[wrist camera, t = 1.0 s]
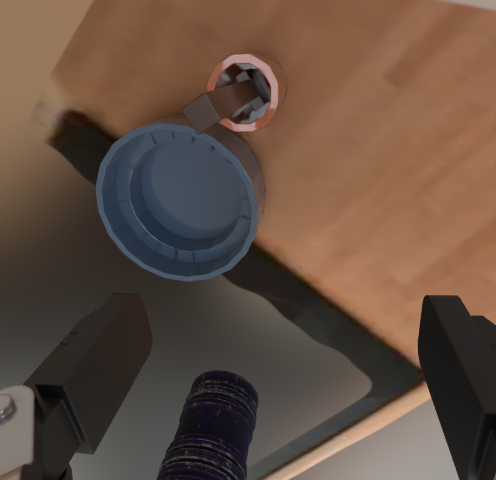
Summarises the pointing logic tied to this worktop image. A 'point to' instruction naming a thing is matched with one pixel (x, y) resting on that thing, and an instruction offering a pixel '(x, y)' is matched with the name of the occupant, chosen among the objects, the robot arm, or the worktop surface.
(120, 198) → the bowl
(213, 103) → the stirring stick
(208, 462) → the storage jar
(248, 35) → the worktop surface
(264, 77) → the utensil holder
